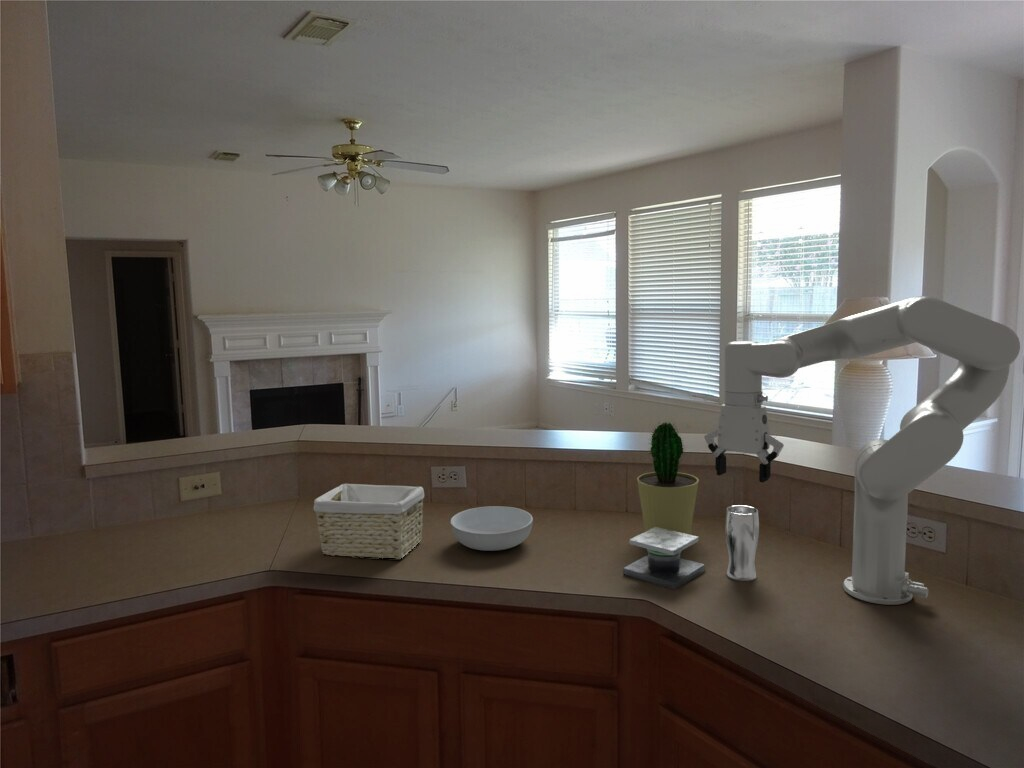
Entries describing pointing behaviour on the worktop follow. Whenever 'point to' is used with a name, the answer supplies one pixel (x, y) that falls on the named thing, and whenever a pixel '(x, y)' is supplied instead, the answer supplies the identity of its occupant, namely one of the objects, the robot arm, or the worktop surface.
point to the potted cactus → (667, 485)
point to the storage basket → (370, 520)
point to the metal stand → (664, 558)
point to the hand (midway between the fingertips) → (742, 477)
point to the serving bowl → (491, 527)
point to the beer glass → (742, 541)
